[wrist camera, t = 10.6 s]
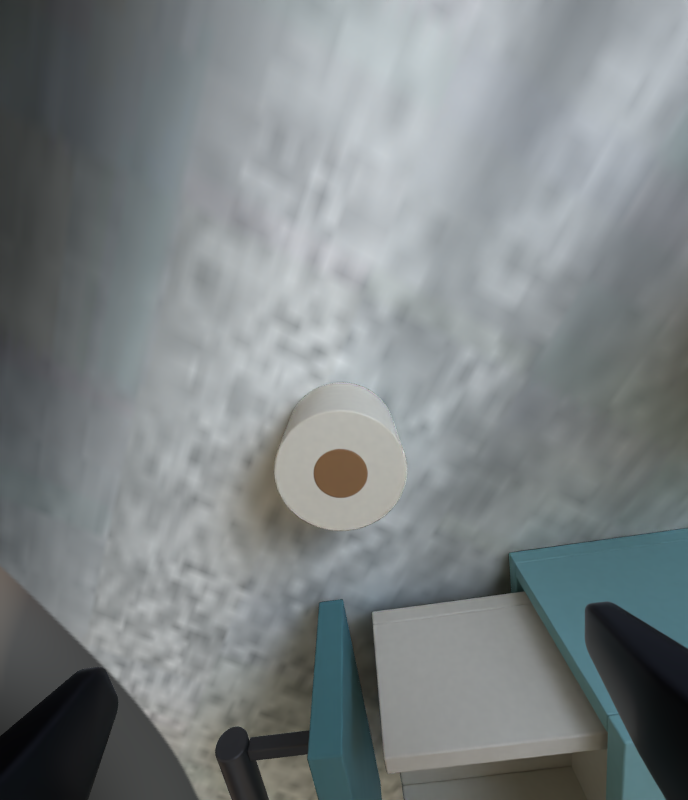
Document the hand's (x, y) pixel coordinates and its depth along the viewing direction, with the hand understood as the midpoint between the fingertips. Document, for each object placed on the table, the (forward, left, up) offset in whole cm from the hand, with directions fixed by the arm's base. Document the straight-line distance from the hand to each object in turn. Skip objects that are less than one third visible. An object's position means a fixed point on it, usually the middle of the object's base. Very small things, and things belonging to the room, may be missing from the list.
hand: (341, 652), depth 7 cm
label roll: (0, 0, -11) cm, 11 cm away
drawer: (+14, -4, -10) cm, 18 cm away
